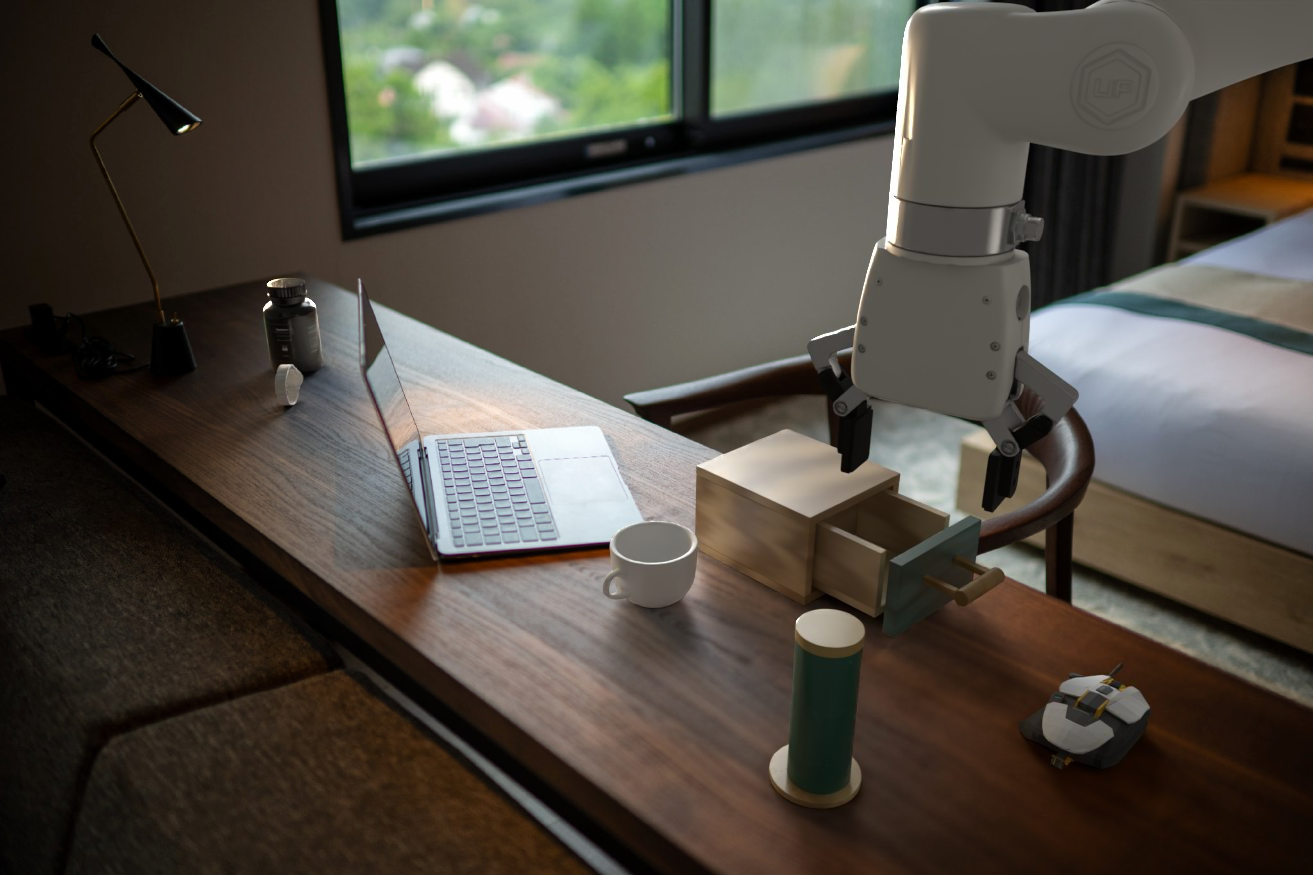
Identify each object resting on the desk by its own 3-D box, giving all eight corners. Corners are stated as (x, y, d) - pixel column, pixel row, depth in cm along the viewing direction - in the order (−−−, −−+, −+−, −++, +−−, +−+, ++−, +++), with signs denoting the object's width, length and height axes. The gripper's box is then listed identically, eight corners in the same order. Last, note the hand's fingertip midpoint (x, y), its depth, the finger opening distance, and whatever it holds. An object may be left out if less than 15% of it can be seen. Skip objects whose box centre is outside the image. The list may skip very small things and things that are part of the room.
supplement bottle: (261, 373, 148) (248, 287, 143) (289, 357, 154) (278, 273, 149) (306, 379, 146) (294, 292, 141) (333, 362, 152) (322, 277, 147)
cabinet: (891, 556, 104) (900, 473, 101) (804, 606, 97) (810, 517, 93) (782, 506, 114) (787, 428, 110) (694, 547, 106) (696, 465, 102)
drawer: (1017, 608, 95) (1029, 538, 92) (940, 662, 87) (949, 588, 85) (858, 536, 106) (864, 471, 103) (778, 578, 99) (782, 510, 96)
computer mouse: (1176, 701, 85) (1187, 657, 83) (1094, 798, 75) (1104, 752, 73) (1084, 661, 89) (1092, 619, 88) (994, 748, 80) (1001, 703, 78)
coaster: (846, 742, 80) (846, 736, 80) (873, 804, 74) (873, 798, 74) (760, 749, 79) (760, 744, 79) (780, 812, 74) (781, 807, 73)
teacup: (652, 562, 103) (653, 512, 101) (714, 593, 98) (716, 540, 96) (574, 605, 97) (572, 551, 94) (636, 640, 92) (636, 584, 90)
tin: (840, 748, 79) (853, 606, 74) (859, 792, 75) (874, 645, 70) (779, 753, 78) (788, 611, 73) (794, 798, 74) (805, 650, 69)
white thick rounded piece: (306, 396, 141) (301, 359, 139) (294, 411, 136) (289, 373, 134) (283, 396, 141) (278, 359, 139) (271, 411, 136) (265, 373, 134)
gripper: (1118, 233, 64) (1072, 496, 71) (845, 197, 72) (828, 434, 79) (1084, 261, 58) (1037, 545, 65) (792, 219, 67) (778, 472, 74)
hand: (922, 484), depth 72 cm, fingers open, 9 cm apart
